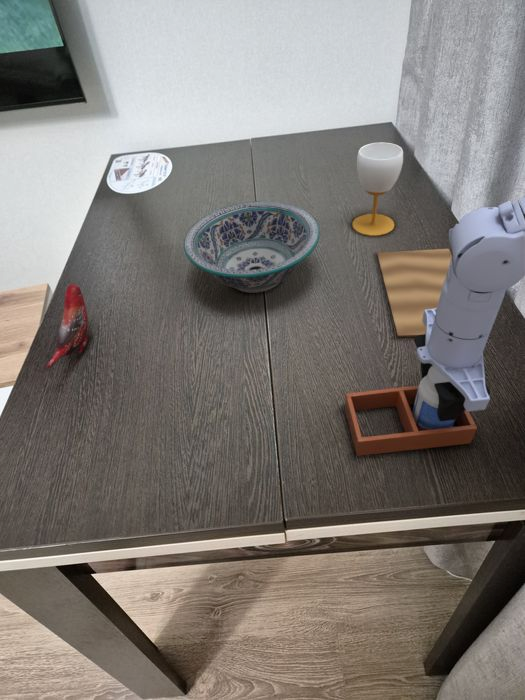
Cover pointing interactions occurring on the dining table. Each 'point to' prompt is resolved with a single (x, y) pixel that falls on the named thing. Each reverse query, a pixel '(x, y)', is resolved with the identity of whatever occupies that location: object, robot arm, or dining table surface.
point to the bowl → (252, 243)
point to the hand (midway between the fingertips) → (438, 398)
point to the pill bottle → (429, 403)
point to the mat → (413, 285)
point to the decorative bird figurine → (72, 325)
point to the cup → (377, 183)
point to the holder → (411, 436)
